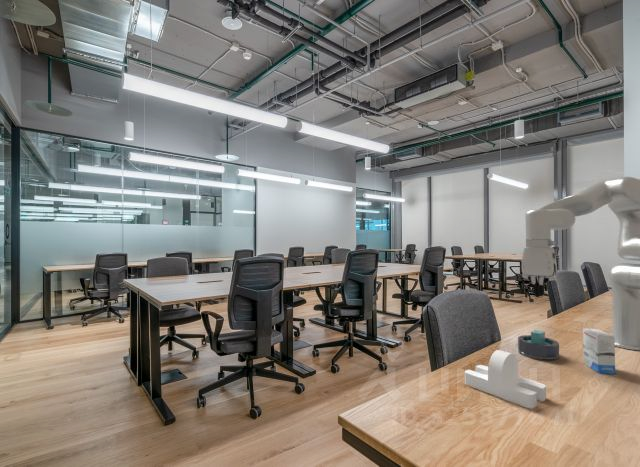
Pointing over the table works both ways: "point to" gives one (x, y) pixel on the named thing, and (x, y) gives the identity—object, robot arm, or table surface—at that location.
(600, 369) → the ink box
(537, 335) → the cap
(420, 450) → the table surface
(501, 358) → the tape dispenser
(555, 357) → the grey round hollow piece
